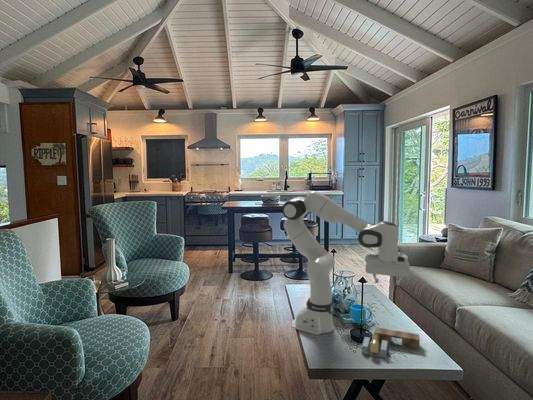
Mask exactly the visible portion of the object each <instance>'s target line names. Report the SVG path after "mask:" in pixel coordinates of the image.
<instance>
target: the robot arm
mask: <svg viewBox="0 0 533 400" xmlns="http://www.w3.org/2000/svg"><path fill="white" fill-rule="evenodd" d="M281 213H282V215H283V216H284V218H286V219H285V220H284V222H283V228H284V231H285V232H286V234H287V235H286V236H287V237H288V238H289V240H290V241H291V242H292V244H293V246H294V247H295V249H296V250H297V251H298V253H299V254H300V255H301V256H304V258H306V259H307V260H308V261H309V262H308V264H307V267H306V274H307V277H308V282H309V287H310V289H309V290H310V292H309V293H310V295H309V296H310V297H308V299H307V300H306V303H305V304H306V305H305V307H303V308H302V309H300V310H298V312H297V314H296V316H295V318H294V319H293V320H292V322H291V328H292V329H295V330H299V331H301V332H305V333H309V334H312V335H314V336H315V335H316V336H318V335H321V334H328V333H331V332H333V331H334V330H335V325H334V321H333V301H332V295H333V294H332V290H333V289H332V286H331V280H330V273H331V271H332V270H334V268H335V257H334V256H333V254H331V253H330V252H328V251H327V250H326V249H325V248H324V246H322V245H321V244H320V242H318V240H317V239H316V238H315V237H314V235H313V234H312V232H311V230H310V229H309V228H308V227H307V226H306V224H305V221H304V219H306V218H307V217H308V216H309V214H310V213H311V214H314V215H315V216H317V217H318V218H319V219H322V220H323V221H324V222H327V223H331V224H343V225H345V226H348V227H349V228H351V229H352V230H353V231H356V232H357V233H358V235H357V240H358V243H359V244H360V245H361V247H364V248H368V249H370V248H378V249H377V250H378V252H377V254H374V253H373V254H371V253H369V254H366V255H365V258H364V261H365V263H366V264H365V270H364V271H365V273H366V274H371V275H372V276H373V278H374V283H375V284H379V278H377V275H378V276H379V275H381V276H389V277H390V276H391V277H398V280H396V281H395V286H399V287H400V282H401V281H402V279H403V278H410V277H411V266H410V263H409V257H408V255H407V254H405V253H402V252H399V248H398V244H399V229H398V226H397V224H396V223H395V222H392V221H387V220H383V221H380V222H379V223H377V224H375V223H370V222H366V221H364V219H361V218H360V217H358V216H356V215H355V214H353V213H351V212H350V211H348V210H347V209H345V208H344V207H343V206H341V205H340V204H339V203H337V202H336V201H335V200H333V199H332V198H330V197H328V196H327V195H325V194H323V193H321V192H318V191H314V190H312V191H311V192H309V193H308V194H307V195H306V196H304V195H301V196H295V197H293V198H290V199H289V200H287V201H286V202H284V204H283V206H282V212H281Z"/></svg>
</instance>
